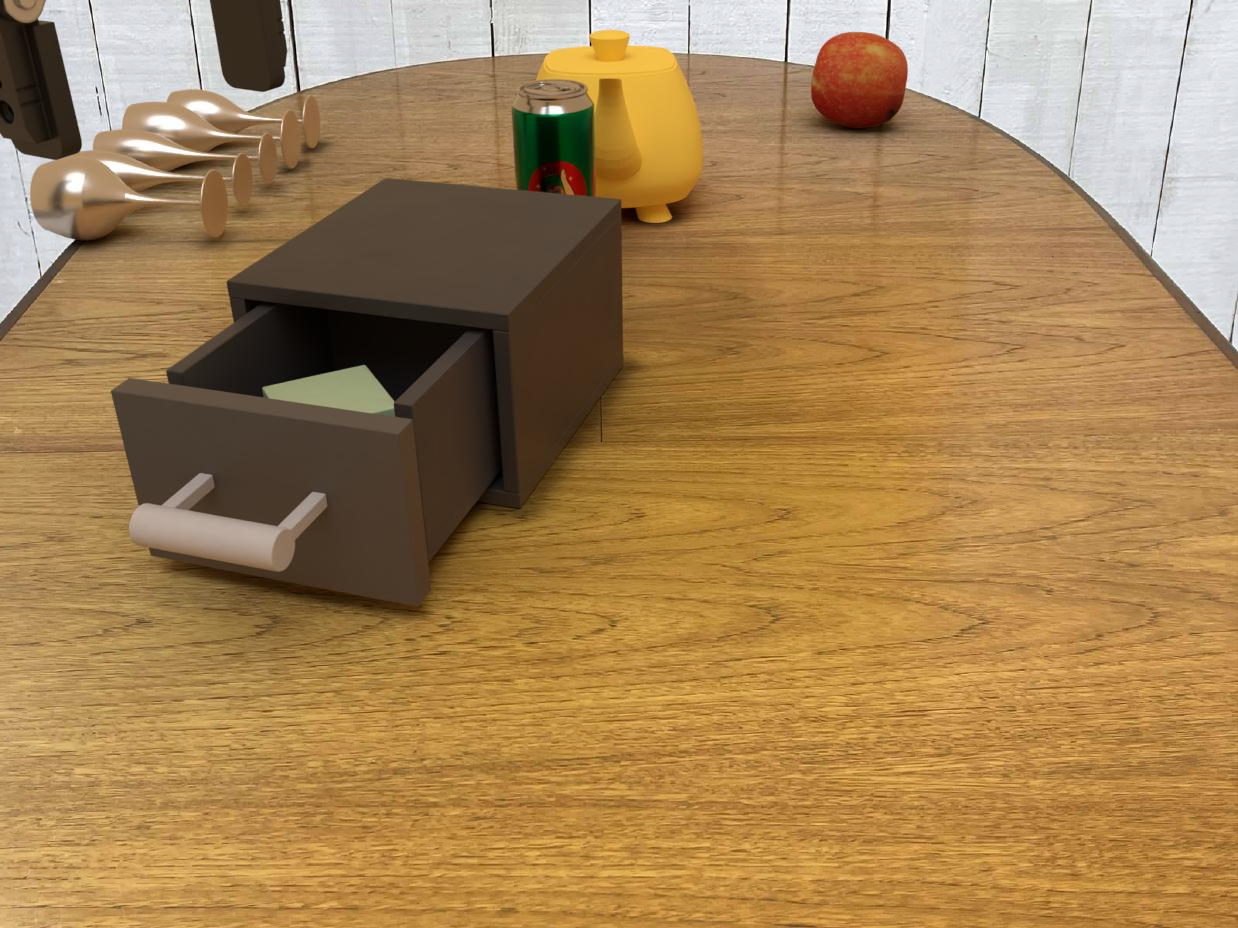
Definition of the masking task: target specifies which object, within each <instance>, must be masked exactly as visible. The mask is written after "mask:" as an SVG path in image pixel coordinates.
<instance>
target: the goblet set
mask: <svg viewBox="0 0 1238 928" xmlns="http://www.w3.org/2000/svg"><path fill="white" fill-rule="evenodd" d="M121 123H122V124H121V129H110V130H105V131H103V130H102V131H100V132H98V133H96V135H95V136H94V139H93V143H92V150H91V149H90V150H82V151H81V150H80V152H79V153H77V154H74V155H71V156H67V157H64V158H61V159H58V160H51V161H47V162H44V163H42V164H40V165H38V167H36V169H35V171H34V172H33V174H32V177H31V181H30V188H29V199H30V205H31V210H32V214H33V216H34V219H35V220H36V222H37V224H38V225H39V226H40V227H41V228H42V229H44V230H45V231H48V232H49V233H53V234H56V235H57V236H61V237H64V238H67V239H70V240H74V241H75V240H76V241H94V240H99V239H101V238H104V237H106V236H108V235H109V234H111V233H112V232H113V231H114V230H115V229H116V228H117V227H119V226H120V224H121V223H122V222H123V221H124V220H125V219H126V218H127V217H128V216H129V215H130V214H132V213H133V212H135V211H138V210H139V209H142V208H146V207H153V206H154V207H155V206H194V207H200V215H201V220H202V223H203V226H204V229H205V231H206V232H207V234H208V235H209V236H210V237H211V238H212V239H213V238H214V239H217V238H219V237H221V235H222V234H224V230H225V228H226V226H227V221H228V215H229V197H228V191H227V186H226V183H231V184H232V185H231V186H232V191H233V196H234V198H235V201H236V203H237V204H238V205H239V206H240V207H242V208H246V207H247V206H248V205H249V203H250V201H251V199H252V196H253V187H254V175H253V169H252V165H251V161H257V162H258V167H259V173H260V177H261V179H262V180H263V182H264V183H265V185H272V184H273V183H274V181H275V179H276V177H277V176H276V175H277V170H278V152H277V145H276V142H280V149H281V154H282V159H283V161H284V164H285V165H286V167H287V168H288V169H291V170H293V169H295V168H296V167H297V165H298V162H299V160H300V156H301V149H302V148H301V147H302V138H301V129H300V128H301V127H300V125H302V131H303V132H302V133H303V136H304V137H303V138H304V141H305V143H306V145H307V147H309V149H315V148H316V147H317V145H318V143H319V139H320V133H321V115H320V109H319V105H318V102H317V99H316V98H315V96H314V95H312V94H308V95H307V96H306V98H305V100H304V103H303V108H302V119H301V118H298V116H297V115H296V113H295V112H294V110H293V109H287V110H286V111H285V112H284V114H283V116H282V117H271V116H264V115H258V114H254V113H250V112H248V111H246V110H244V109H242V108H241V107H240V106H238V105H237V104H236V103H234V101H231V100H230V99H228V98H227V97H226V96H223V95H221V94H219V93H217V92H214V91H210V90H206V89H197V88H194V89H193V88H192V89H181V90H174V91H171V92H170V93H169V95H168V96H167V99H166V102H164V101H145V102H144V101H143V102H135V103H132V104H129V105H128V106H127V107H126V109H125V111H124V113H123V116H122V122H121ZM271 124H272V125H273V124H280V133H279V134H280V135H272V134H271V133H270V132H264V133H263V134H262V135H258V134H257V135H256V134H241V132H242V131H243V130H246V129H248V128H250V127H255V126H261V125H271ZM233 142H259V143H258V144H259V145H258V155H247V154H246V153H244V152H239V153H238V154H224V153H223V154H222V153H220V154H219V153H213V152H212V153H211V152H209V151H212V149H214V148H215V147H218V146H219V145H222V144H225V143H233ZM221 160H223V161H225V160H228V161H229V160H231V161H233V164H232V171H231V176H222V174H221V173H220V172H219V170H217V169H214V168H212V169H209V170H208V171H207V172H206V174H205V175H197V174H196V175H195V174H184V173H175V172H171V171H172V170H175V169H177V168H179V167H183V166H184V165H188V164H191V163H195V162H201V161H221ZM174 182H202V183H201V188H200V197H199V199H174V198H173V199H172V198H161V197H154V196H149V195H145V194H142V193H139V192H141V191H144V190H146V189H149V188H151V187H155V186H158V185H162V184H167V183H174Z"/></svg>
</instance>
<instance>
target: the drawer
mask: <svg viewBox="0 0 1238 928" xmlns="http://www.w3.org/2000/svg"><path fill="white" fill-rule="evenodd" d="M361 365H366V366H367V368H368V369H369V370H370V371H371V373H372V374H373V375H374V376H375V378H376V379H377V380H378V381H379V383H380V384H381V385H382V386H383V388H384V389H385V390H386V391H387V393H388V394H389V395H390V396H391V398H392V399H393V400H394V401H395V402H394V412H395V417H393V416H386V415H380V414H373V413H366V412H359V411H352V410H345V409H339V408H332V407H325V406H318V405H311V404H304V403H298V402H291V401H284V400H277V399H270V398H264V397H263V391H262V388H263V387H265V386H270V385H274V384H279V383H284V382H288V381H293V380H297V379H302V378H306V377H311V376H316V375H320V374H325V373H329V372H334V371H338V370H343V369H348V368H352V367H357V366H361ZM165 373H166V377H167V378H166V379H167V382H160V381H153V380H152V381H151V380H146V379H140V378H133V377H128V378H127V379H124V380H123V382H121V383H120V384H117V386H115V387H113V388H112V389H111V390H110V395H111V399H112V402H113V403H112V404H113V405H114V410H115V411H114V412H115V415H116V419H117V423H118V428H119V431H120V435H121V440H122V444H123V447H124V451H125V457H126V460H127V464H128V468H129V472H130V476H131V480H132V485H133V489H134V493H135V496H136V501H137V505H138V506H137V507H136V508H135V510H134V511H133V512H132V514H131V517H130V518H129V524H128V535H129V538H130V540H131V541H132V543H133V544H135V545H136V546H138V547H139V546H140V547H145V548H148V550H149V555H150V556H151V557H155V558H161V559H165V560H171V561H175V562H180V563H181V562H182V563H187V564H191V565H197V566H202V567H208V568H212V569H217V570H222V571H228V572H233V573H238V574H243V575H249V576H254V577H260V578H263V579H264V578H265V579H270V580H274V581H275V580H276V581H280V582H287V583H292V584H296V585H302V586H305V587H312V588H318V589H322V590H327V591H332V592H338V593H345V594H349V595H354V596H359V597H364V598H369V599H375V600H381V601H385V602H389V603H390V602H391V603H395V604H403V605H407V606H413V607H420V606H421V604H422V603H423V602H424V600H425V599H426V598H427V596H428V595H429V593H431V592H432V586H431V585H432V584H431V577H430V576H431V575H430V567H429V563H430V562H431V560H432V559H433V558H434V557H435V555H436V554H437V553H438V552H439V550H440V549H441V548H442V547H443V545H444V544H445V543H446V541H447V540H449V537H450V536H451V535H452V534H453V532H454V531H455V530H456V529H457V528H458V526H460V524H461V522H462V521H463V520H464V518H465V517H466V516H467V515H468V513H469V512H470V511H471V509H472V508H473V507H474V505H475V504H476V503H477V502H478V501H477V500H478V499H479V498H480V497H481V495H482V494H483V493H484V491H485V490H486V489H487V488H488V486H489V485H490V484H491V482H492V481H493V480H494V479H495V477H496V476H497V475H498V474H499V472H500V471H501V470H502V457H501V442H500V428H499V414H498V400H497V385H496V371H495V357H494V342H493V330H492V329H484V328H475V327H467V326H459V325H451V324H443V323H435V322H427V321H418V320H410V319H402V318H394V317H386V316H378V315H370V314H361V313H353V312H345V311H337V310H329V309H321V308H313V307H305V306H296V305H288V304H280V303H272V302H263V303H261V304H260V305H258V306H257V307H255V308H254V309H253V310H251V311H250V312H248V313H247V314H246V315H244V316H243V317H241V318H240V319H238V320H237V321H236V322H234V321H233V322H232V323H231V324H229V325H228V326H227V327H226V328H224V329H223V330H221V331H220V332H219V333H217V334H215V335H214V336H212V337H211V338H210V339H209V340H207V341H206V342H204V343H203V344H201V345H200V346H198V347H197V348H195V349H194V350H192V351H191V352H189V354H187V355H186V356H184V357H182V358H181V359H179V361H177V362H176V363H174V364H173V365H172V366H170V367H168V368H167V369H166V370H165Z"/></svg>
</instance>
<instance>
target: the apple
mask: <svg viewBox="0 0 1238 928" xmlns="http://www.w3.org/2000/svg"><path fill="white" fill-rule="evenodd" d="M908 69H909V67H908V60H907V57H906V55H905V53H904V51H903V50H902V49H901V47H899V46H898V45H897V44H896V43H894V42H893V41H891V40H890V39H888V38H886V37H884V36H882V35H879V34H877V33H876V34H875V33H873V32H866V31H865V32H864V31H847V32H842V33H840V34H836V35H834V36H832V37H831V38H829V39H828V40H826V41H825V42H824V44H823V45H822V46H821V47H820V49H819V51H818V54H817V56H816V60H815V63H814V67H813V70H812V76H811V79H810V80H811V81H810V84H811V85H810V86H811V87H810V94H811V95H810V96H811V101H812V104H813V106H814V108H815V109H816V110H817V111H818V112H819V114H821V115H822V116H823V117H824V118H825V119H827V120H828V121H830V122H831V123H834V124H836V125H840V126H842V127H843V126H844V127H847V128H852V129H865V128H874V127H878V126H880V125H883V124H885V123H888V122H890V121H891V120H892V119H893V118H894V117H895V116H896V115H897V114H898V113H899V111H900V110H901V108H902V106H903V103H904V100H905V94H906V88H907V83H908V74H909V70H908Z"/></svg>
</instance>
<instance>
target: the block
mask: <svg viewBox="0 0 1238 928" xmlns="http://www.w3.org/2000/svg"><path fill="white" fill-rule="evenodd" d="M262 391H263V397H264V398H270V399H277V400H284V401H291V402H298V403H304V404H311V405H318V406H325V407H332V408H339V409H345V410H352V411H359V412H366V413H373V414H380V415H386V416H393V417H395V412H394V402H395V401H394V400H393V399H392V398H391V396H390V395H389V394H388V393H387V391H386V390H385V389H384V388H383V386H382V385H381V384H380V383H379V381H378V380H377V379H376V378H375V376H374V375H373V374H372V373H371V371H370V370H369V369H368V368H367V366H366V365H361V366H357V367H352V368H348V369H343V370H338V371H334V372H329V373H325V374H320V375H316V376H311V377H306V378H302V379H297V380H293V381H288V382H284V383H279V384H274V385H270V386H265V387H263V388H262Z"/></svg>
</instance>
